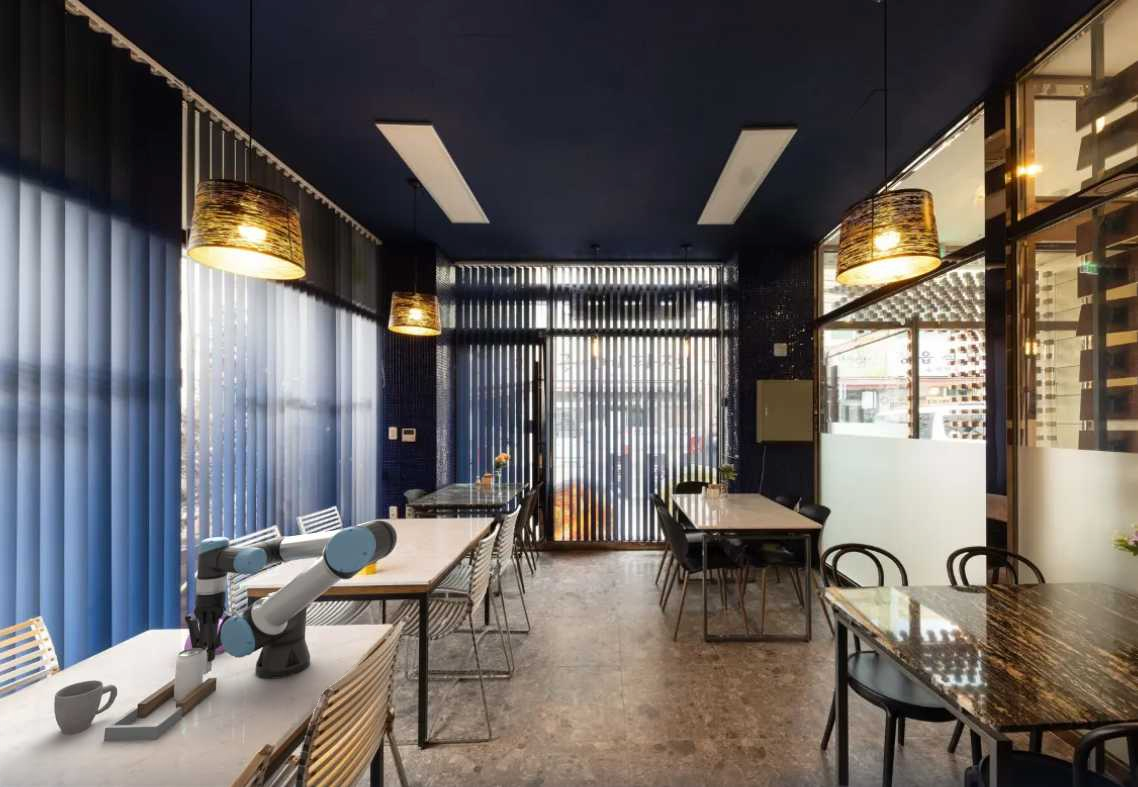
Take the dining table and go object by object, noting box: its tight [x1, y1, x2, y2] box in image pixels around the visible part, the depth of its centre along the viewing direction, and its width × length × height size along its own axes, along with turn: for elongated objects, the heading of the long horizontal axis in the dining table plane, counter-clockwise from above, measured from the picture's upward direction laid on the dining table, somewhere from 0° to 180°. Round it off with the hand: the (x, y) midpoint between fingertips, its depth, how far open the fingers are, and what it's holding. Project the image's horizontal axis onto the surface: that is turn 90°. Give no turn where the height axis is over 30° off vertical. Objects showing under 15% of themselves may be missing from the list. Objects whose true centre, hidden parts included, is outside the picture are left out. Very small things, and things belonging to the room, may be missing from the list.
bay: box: [103, 707, 183, 742], centre depth 130 cm, size 12×9×3 cm
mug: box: [53, 680, 118, 736], centre depth 132 cm, size 12×9×10 cm
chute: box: [136, 677, 217, 719], centre depth 142 cm, size 12×14×4 cm
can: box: [173, 648, 204, 702], centre depth 147 cm, size 6×6×12 cm
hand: (205, 672), depth 155 cm, fingers closed
